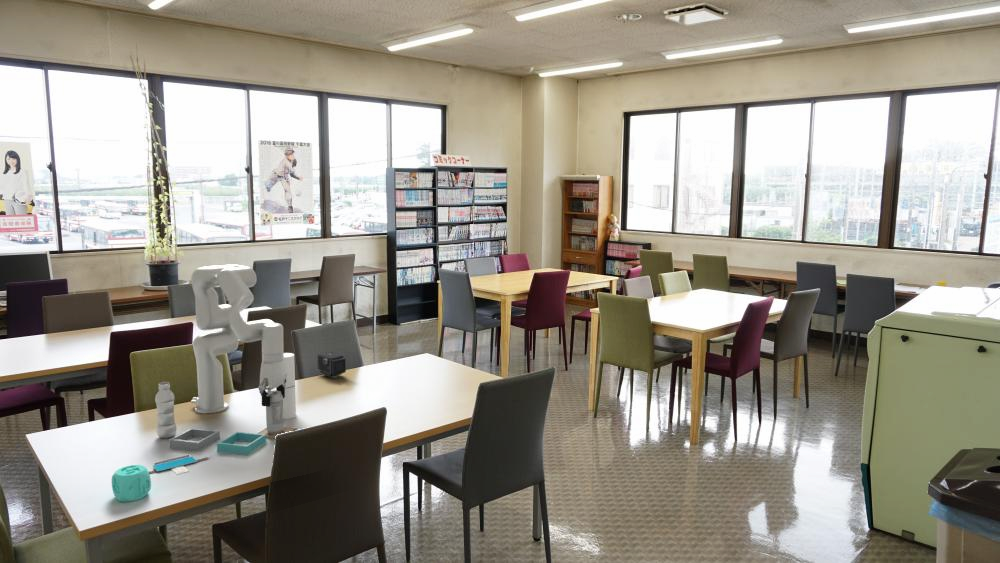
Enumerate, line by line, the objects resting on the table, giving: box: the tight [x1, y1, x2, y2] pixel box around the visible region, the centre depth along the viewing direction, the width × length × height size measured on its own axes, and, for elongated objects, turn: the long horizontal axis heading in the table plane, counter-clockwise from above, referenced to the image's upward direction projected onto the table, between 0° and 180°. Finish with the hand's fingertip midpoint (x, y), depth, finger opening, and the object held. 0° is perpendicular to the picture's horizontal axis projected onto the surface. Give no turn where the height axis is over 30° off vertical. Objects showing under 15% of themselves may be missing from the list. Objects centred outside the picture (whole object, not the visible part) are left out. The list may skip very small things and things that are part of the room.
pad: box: [256, 426, 298, 440], centre depth 247 cm, size 11×11×1 cm
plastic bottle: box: [154, 381, 177, 439], centre depth 241 cm, size 6×7×20 cm
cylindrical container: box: [283, 352, 297, 420], centre depth 264 cm, size 7×7×25 cm
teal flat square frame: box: [216, 431, 267, 456], centre depth 233 cm, size 12×12×3 cm
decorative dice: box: [111, 464, 152, 503], centre depth 195 cm, size 8×8×8 cm
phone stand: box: [148, 454, 209, 475], centre depth 216 cm, size 20×12×2 cm, turn 132°
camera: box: [317, 351, 347, 379], centre depth 322 cm, size 11×11×15 cm
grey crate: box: [168, 427, 221, 452], centre depth 236 cm, size 12×12×3 cm
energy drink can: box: [265, 390, 285, 434], centre depth 246 cm, size 6×6×15 cm
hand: (273, 401), depth 246 cm, fingers open, 9 cm apart
